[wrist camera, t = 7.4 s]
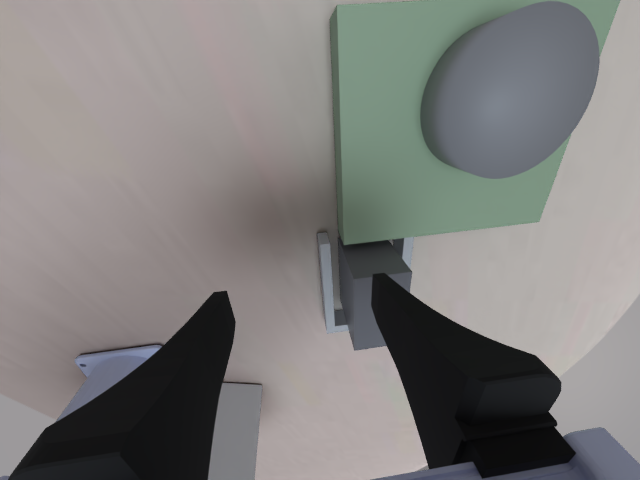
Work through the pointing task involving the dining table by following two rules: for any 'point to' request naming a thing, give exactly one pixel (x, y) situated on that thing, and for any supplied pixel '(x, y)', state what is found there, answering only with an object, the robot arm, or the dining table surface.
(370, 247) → the dark gray block
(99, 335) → the dining table surface
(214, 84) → the dining table surface
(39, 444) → the robot arm
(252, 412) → the milk carton
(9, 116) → the dining table surface
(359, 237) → the green panel
